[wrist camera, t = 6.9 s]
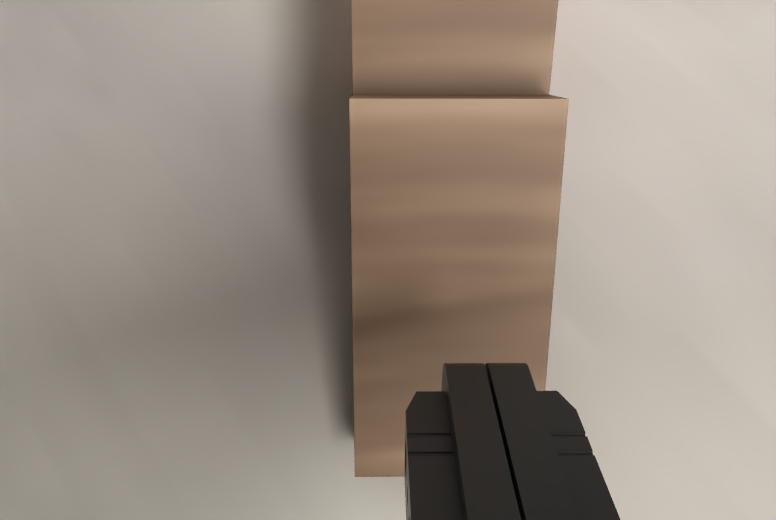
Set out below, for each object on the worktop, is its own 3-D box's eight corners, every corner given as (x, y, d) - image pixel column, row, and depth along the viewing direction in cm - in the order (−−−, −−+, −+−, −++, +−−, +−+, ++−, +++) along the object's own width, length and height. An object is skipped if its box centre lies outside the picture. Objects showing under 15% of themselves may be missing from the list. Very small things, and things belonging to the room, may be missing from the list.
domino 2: (538, 475, 18) (568, 98, 15) (354, 476, 18) (349, 98, 15) (524, 439, 20) (549, 94, 17) (357, 439, 19) (352, 94, 17)
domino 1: (526, 322, 19) (563, -55, 15) (356, 323, 19) (350, -55, 15) (515, 295, 21) (545, -51, 17) (358, 296, 21) (352, -51, 17)
